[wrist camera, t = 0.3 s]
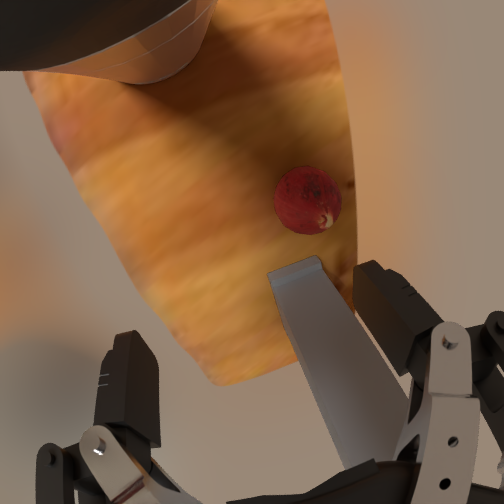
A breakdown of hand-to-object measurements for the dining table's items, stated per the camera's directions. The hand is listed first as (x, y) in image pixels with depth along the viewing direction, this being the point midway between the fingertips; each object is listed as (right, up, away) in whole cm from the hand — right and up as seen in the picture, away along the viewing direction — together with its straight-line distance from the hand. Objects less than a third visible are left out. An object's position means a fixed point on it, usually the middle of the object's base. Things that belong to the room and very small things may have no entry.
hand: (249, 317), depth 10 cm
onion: (+4, +9, +18) cm, 20 cm away
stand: (+6, -3, +25) cm, 26 cm away
